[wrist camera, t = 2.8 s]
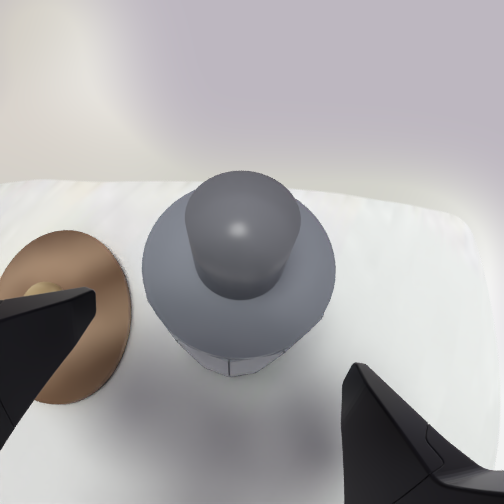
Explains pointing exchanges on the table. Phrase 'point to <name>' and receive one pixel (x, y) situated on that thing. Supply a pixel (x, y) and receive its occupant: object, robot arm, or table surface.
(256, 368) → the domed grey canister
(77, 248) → the cheese board
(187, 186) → the table surface
